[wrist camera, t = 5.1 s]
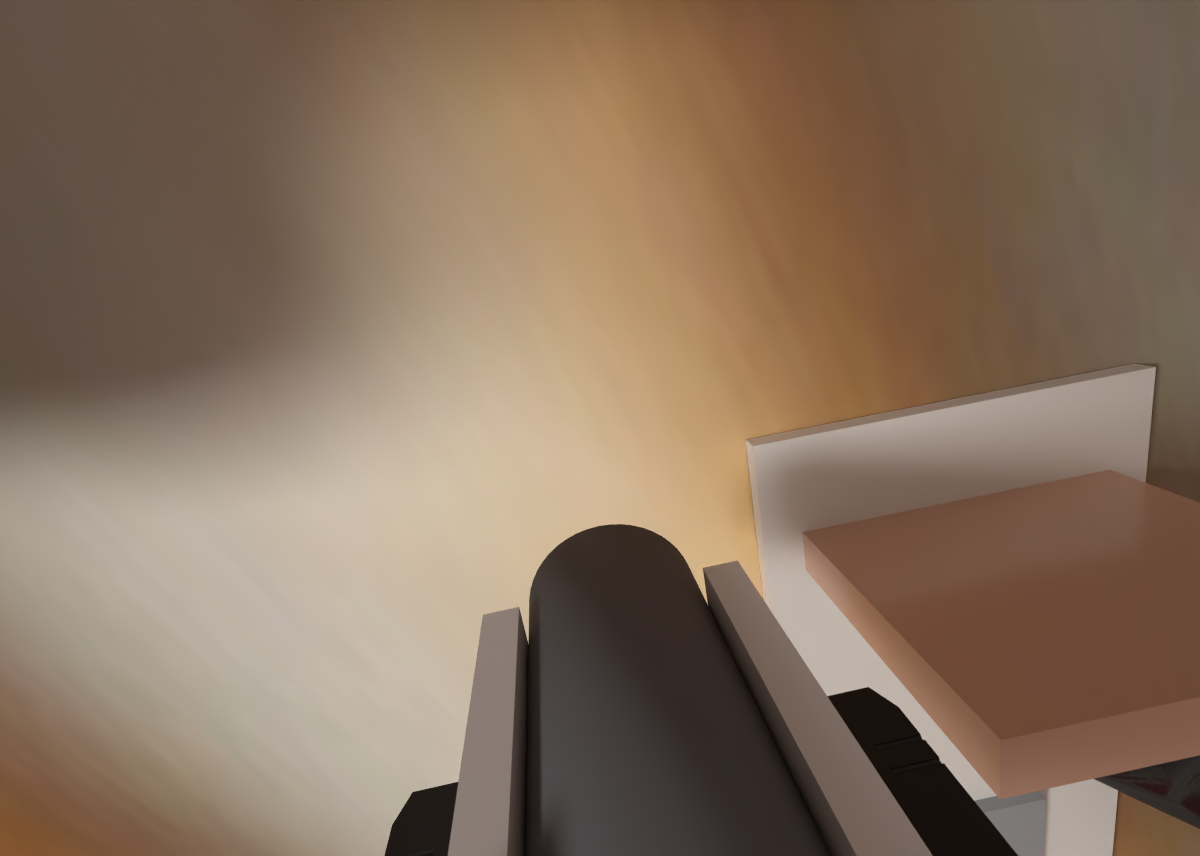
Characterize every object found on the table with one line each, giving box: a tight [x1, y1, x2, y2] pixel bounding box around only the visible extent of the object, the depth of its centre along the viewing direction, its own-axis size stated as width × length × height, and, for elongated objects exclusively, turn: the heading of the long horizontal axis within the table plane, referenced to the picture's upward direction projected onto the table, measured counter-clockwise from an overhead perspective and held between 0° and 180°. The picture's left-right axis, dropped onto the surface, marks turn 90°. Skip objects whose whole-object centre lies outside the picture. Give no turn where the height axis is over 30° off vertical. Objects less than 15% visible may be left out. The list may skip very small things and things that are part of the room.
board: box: [746, 364, 1156, 856], centre depth 25 cm, size 15×26×1 cm, turn 10°
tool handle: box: [525, 524, 831, 856], centre depth 8 cm, size 4×4×12 cm
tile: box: [803, 470, 1200, 799], centre depth 18 cm, size 12×2×10 cm, turn 100°
